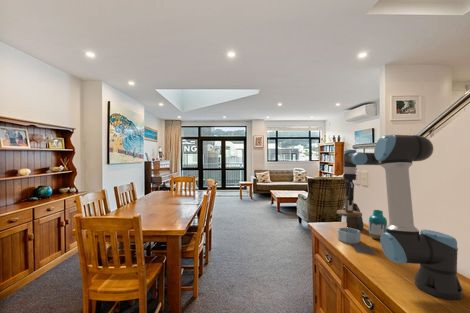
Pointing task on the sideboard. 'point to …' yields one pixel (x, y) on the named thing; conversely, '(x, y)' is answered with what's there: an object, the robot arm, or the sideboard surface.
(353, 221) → the owl
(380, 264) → the sideboard surface
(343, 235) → the bowl
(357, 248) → the mat
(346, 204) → the lid
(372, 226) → the vase
